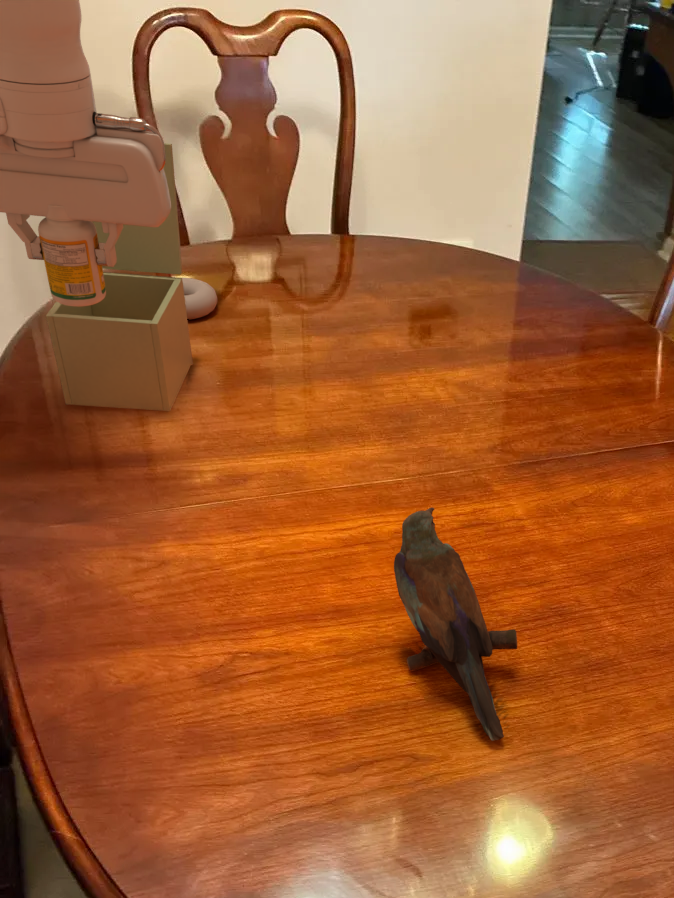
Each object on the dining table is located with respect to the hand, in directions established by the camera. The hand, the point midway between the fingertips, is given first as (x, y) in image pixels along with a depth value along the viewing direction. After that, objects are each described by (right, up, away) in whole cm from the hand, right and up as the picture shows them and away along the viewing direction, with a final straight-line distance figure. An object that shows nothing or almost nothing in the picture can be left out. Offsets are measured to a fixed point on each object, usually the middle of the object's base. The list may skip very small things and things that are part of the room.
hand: (72, 261), depth 96 cm
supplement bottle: (0, -3, +2) cm, 4 cm away
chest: (-4, -6, +28) cm, 29 cm away
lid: (-2, +14, +20) cm, 25 cm away
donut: (-4, +11, +47) cm, 49 cm away
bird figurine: (+39, -40, -4) cm, 56 cm away
